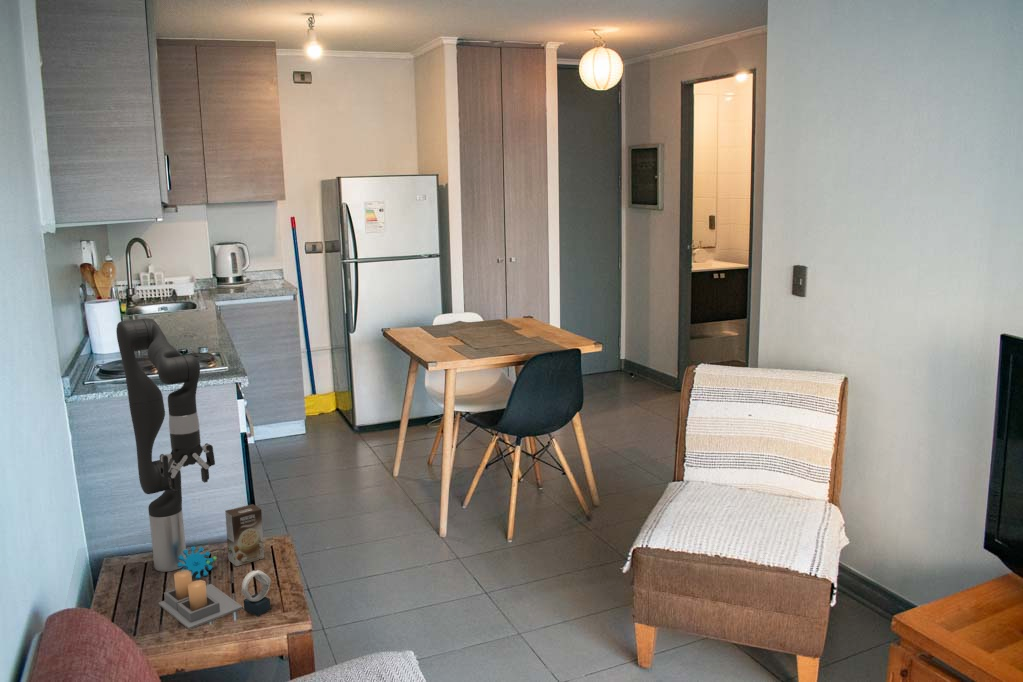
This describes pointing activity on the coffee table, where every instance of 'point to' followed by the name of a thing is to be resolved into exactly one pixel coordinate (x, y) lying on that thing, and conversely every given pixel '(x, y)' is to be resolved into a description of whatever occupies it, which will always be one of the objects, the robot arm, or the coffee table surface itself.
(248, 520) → the coffee box
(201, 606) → the orange peg
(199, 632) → the coffee table surface
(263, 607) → the watch
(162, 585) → the coffee table surface
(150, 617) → the coffee table surface
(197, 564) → the blue knobbed wheel
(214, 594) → the housing
